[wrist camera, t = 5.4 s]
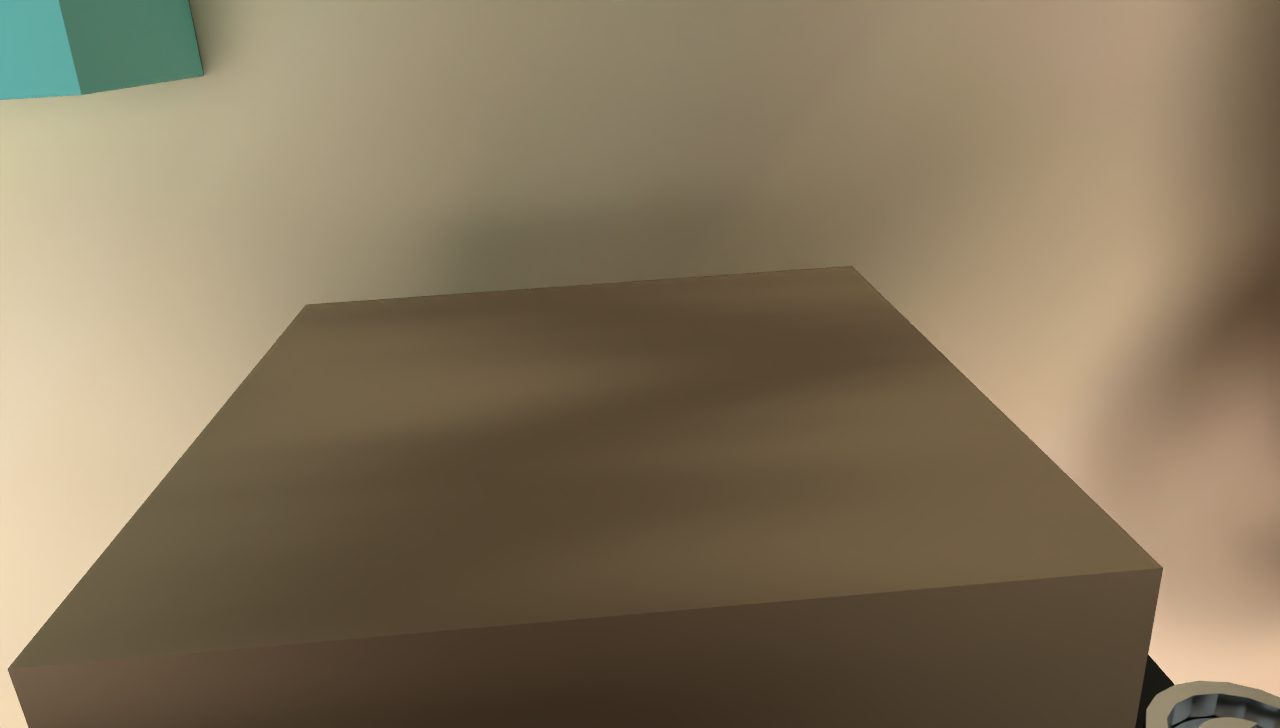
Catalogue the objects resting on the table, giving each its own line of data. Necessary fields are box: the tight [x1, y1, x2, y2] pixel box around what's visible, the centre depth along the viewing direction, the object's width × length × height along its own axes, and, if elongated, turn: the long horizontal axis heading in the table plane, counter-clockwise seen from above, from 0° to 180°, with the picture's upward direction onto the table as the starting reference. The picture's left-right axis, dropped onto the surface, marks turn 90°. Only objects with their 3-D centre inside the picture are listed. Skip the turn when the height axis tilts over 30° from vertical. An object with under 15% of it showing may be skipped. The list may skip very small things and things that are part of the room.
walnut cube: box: [8, 266, 1163, 728], centre depth 9 cm, size 6×6×6 cm
